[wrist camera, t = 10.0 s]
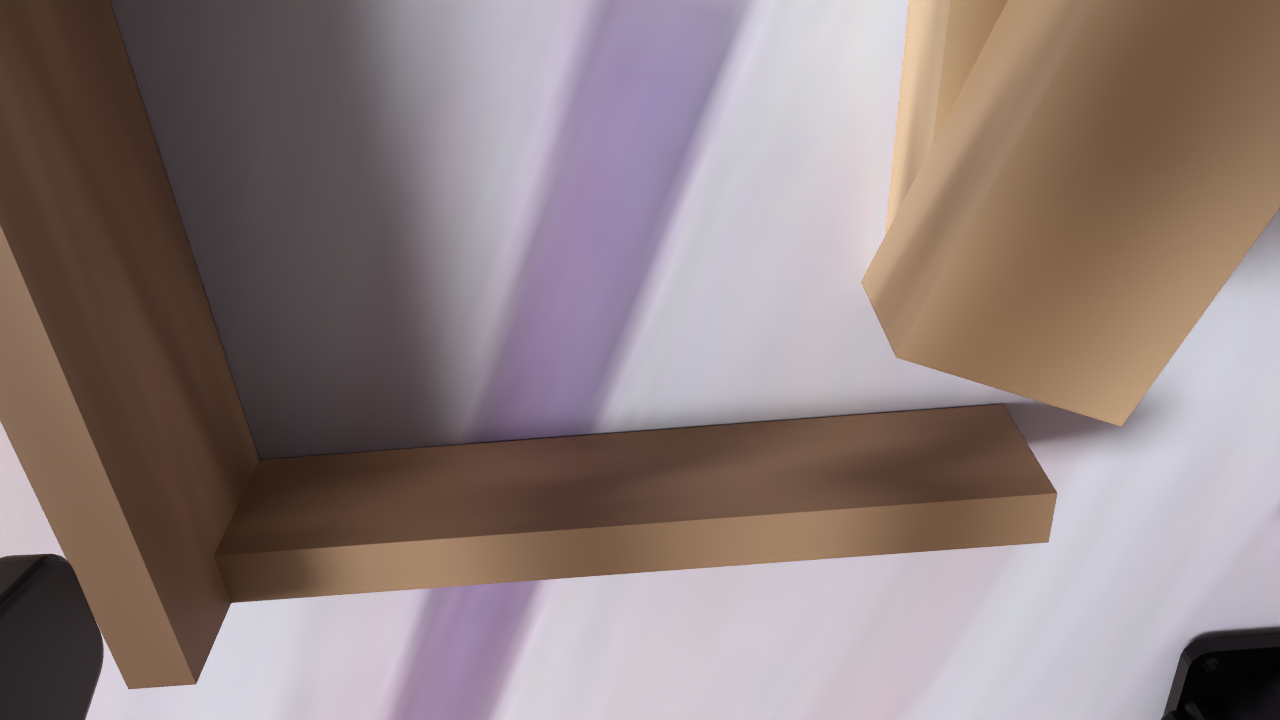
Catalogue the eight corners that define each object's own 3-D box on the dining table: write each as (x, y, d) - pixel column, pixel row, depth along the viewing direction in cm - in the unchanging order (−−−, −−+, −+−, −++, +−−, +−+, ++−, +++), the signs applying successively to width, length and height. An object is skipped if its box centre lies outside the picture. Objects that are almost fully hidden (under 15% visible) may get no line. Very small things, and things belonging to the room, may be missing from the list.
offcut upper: (1289, -3, 15) (1401, 38, 13) (1061, 346, 18) (1121, 426, 16) (1059, -101, 14) (1138, -73, 12) (861, 281, 18) (895, 357, 15)
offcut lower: (1158, -117, 17) (1239, -96, 15) (1077, 268, 20) (1132, 330, 18) (915, -108, 17) (961, -86, 15) (877, 276, 20) (908, 340, 18)
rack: (1117, -425, 14) (1336, -496, 10) (996, 449, 22) (1090, 618, 18) (-84, -327, 14) (-370, -355, 10) (219, 508, 22) (128, 689, 18)
